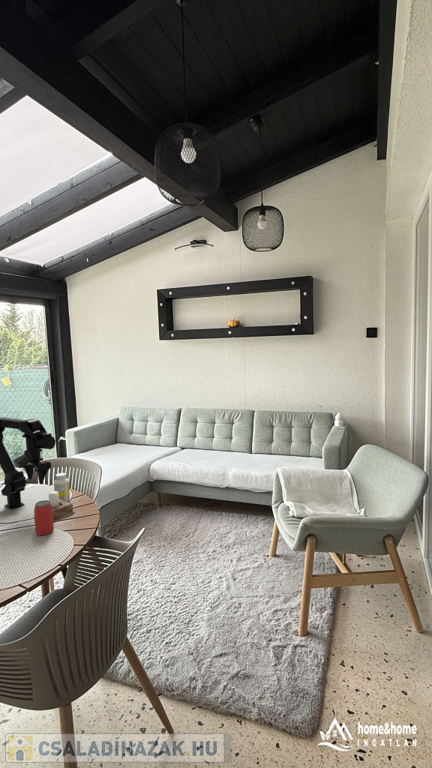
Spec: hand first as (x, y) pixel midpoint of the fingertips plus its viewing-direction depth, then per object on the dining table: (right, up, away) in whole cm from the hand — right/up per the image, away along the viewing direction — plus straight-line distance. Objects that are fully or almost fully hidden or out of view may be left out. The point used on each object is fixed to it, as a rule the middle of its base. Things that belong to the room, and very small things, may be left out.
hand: (35, 481), depth 185 cm
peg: (+10, -13, -4) cm, 17 cm away
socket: (+10, -13, -4) cm, 17 cm away
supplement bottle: (+8, -12, +12) cm, 18 cm away
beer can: (+13, -15, -21) cm, 29 cm away
